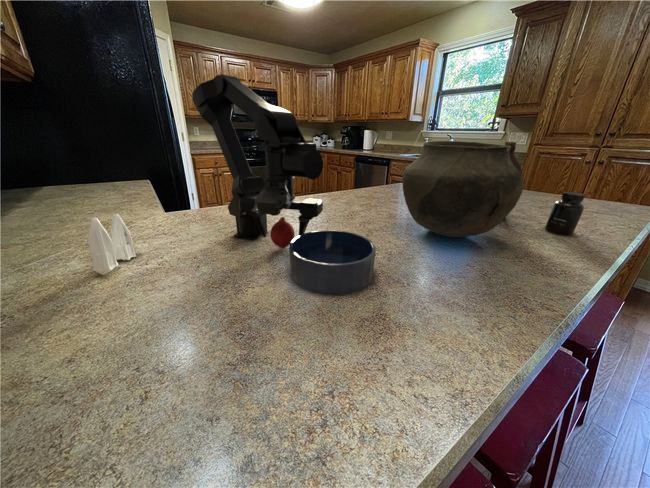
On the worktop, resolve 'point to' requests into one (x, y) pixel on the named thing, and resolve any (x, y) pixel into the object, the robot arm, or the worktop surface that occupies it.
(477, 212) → the pot
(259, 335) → the worktop surface
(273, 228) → the onion
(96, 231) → the shaker set
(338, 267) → the bowl
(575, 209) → the supplement bottle
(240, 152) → the robot arm
